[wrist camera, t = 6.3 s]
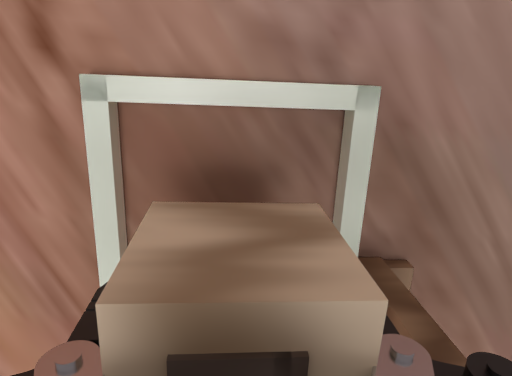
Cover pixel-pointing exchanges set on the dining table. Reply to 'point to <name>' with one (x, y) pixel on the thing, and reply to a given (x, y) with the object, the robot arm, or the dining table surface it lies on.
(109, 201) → the bay
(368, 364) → the letter cube
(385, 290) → the screen
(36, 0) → the dining table surface
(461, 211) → the dining table surface
